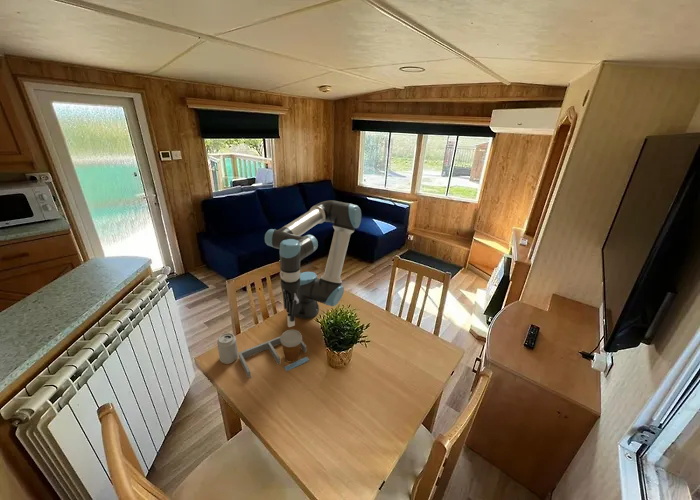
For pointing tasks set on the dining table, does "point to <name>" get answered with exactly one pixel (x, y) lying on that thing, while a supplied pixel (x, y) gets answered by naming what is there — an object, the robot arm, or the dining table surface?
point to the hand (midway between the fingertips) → (291, 325)
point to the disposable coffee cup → (291, 344)
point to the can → (227, 348)
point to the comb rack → (260, 348)
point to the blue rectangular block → (296, 364)
